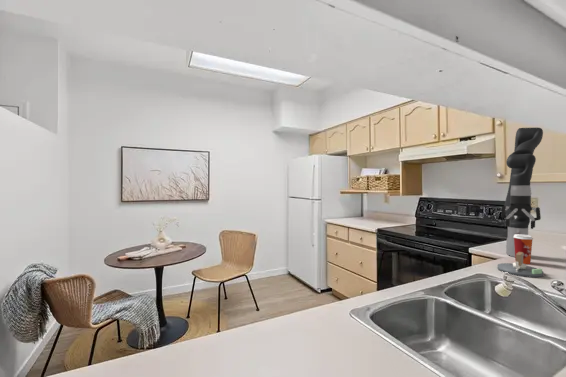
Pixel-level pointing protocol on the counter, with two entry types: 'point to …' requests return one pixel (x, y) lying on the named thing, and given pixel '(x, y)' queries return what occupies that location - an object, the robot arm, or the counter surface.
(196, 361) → the counter surface
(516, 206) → the robot arm
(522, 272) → the dial plate
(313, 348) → the counter surface
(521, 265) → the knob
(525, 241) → the coffee cup
